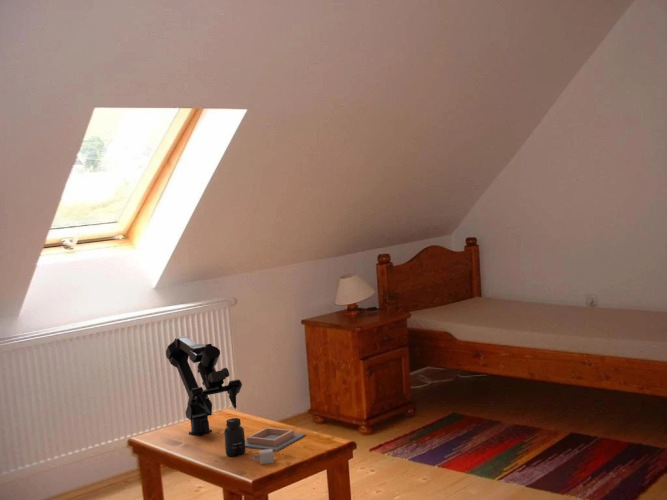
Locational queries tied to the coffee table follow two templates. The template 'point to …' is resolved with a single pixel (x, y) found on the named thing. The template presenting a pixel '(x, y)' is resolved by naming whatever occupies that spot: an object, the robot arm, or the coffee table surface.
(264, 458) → the usb wall charger
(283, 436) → the dock tray
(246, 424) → the coffee table surface
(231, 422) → the supplement bottle
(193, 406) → the robot arm
